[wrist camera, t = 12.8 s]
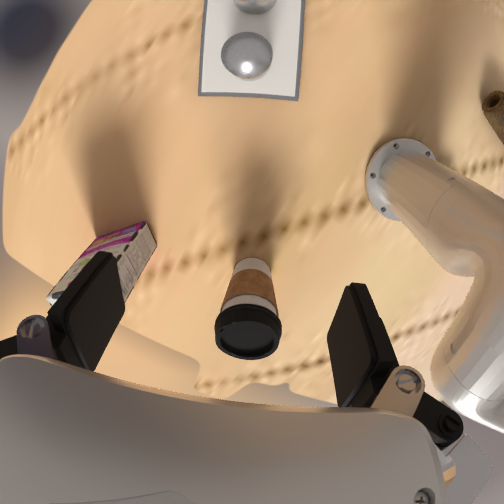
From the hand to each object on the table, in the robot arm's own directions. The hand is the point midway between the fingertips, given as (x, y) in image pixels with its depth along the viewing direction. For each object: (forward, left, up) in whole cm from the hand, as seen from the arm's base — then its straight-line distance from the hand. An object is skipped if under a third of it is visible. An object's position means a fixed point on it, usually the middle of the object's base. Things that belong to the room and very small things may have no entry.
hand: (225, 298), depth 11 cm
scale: (+1, -19, -29) cm, 35 cm away
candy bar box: (+20, +15, -30) cm, 39 cm away
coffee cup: (-1, +19, -30) cm, 35 cm away
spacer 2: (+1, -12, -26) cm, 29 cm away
